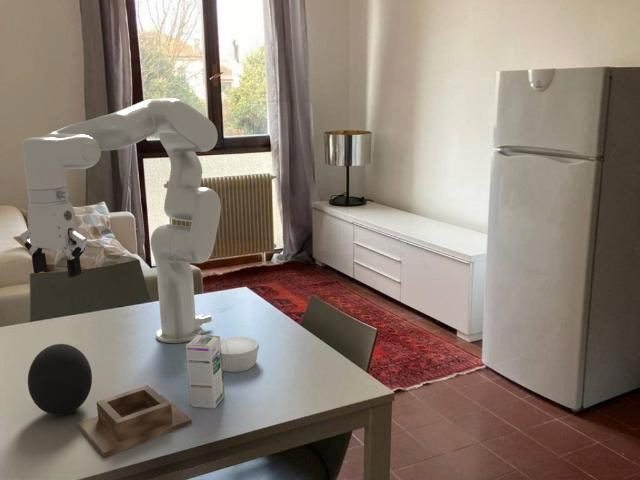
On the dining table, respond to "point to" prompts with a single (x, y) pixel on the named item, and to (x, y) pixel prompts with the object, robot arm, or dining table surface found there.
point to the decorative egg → (59, 379)
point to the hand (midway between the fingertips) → (57, 273)
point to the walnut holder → (132, 420)
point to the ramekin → (238, 353)
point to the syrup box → (205, 371)
